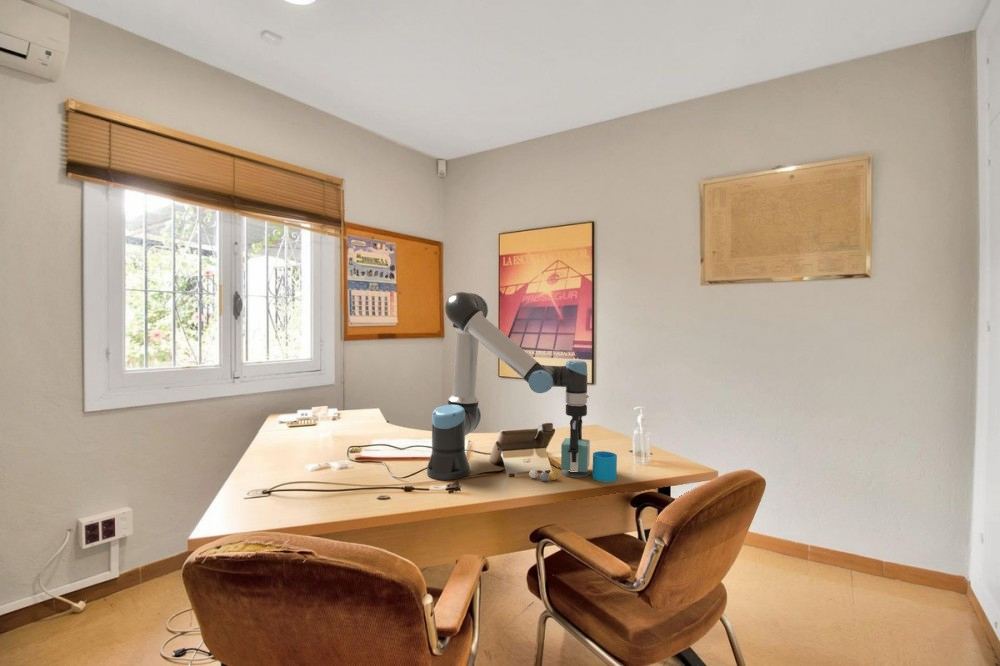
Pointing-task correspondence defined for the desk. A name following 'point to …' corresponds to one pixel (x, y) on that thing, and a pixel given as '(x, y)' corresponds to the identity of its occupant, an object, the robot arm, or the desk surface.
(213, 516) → the desk surface
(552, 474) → the marble amber
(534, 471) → the marble white
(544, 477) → the marble slate
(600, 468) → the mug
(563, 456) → the matte teal cube
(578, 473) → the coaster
